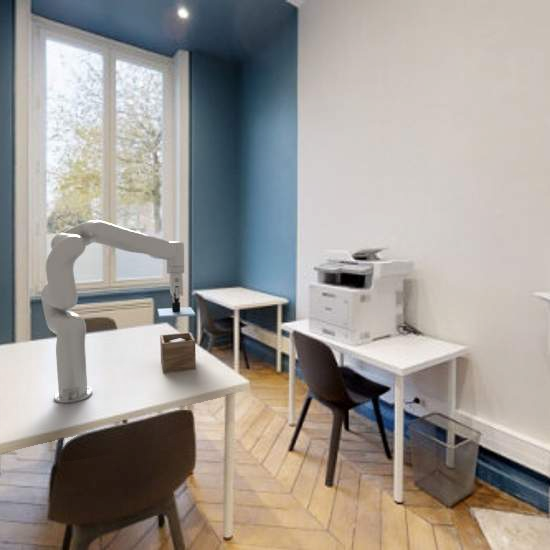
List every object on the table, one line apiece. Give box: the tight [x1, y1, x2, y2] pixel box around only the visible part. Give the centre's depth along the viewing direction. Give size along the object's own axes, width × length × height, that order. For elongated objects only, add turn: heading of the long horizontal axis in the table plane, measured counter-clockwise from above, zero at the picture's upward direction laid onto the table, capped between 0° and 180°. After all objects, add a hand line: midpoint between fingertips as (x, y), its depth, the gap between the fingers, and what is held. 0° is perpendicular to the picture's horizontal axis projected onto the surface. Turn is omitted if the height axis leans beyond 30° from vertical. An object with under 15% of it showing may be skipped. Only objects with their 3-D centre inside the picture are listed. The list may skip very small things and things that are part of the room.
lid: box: [157, 298, 196, 319], centre depth 174 cm, size 15×15×6 cm
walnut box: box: [159, 332, 197, 374], centre depth 177 cm, size 14×14×13 cm
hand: (175, 310), depth 174 cm, fingers closed on lid, 3 cm apart
